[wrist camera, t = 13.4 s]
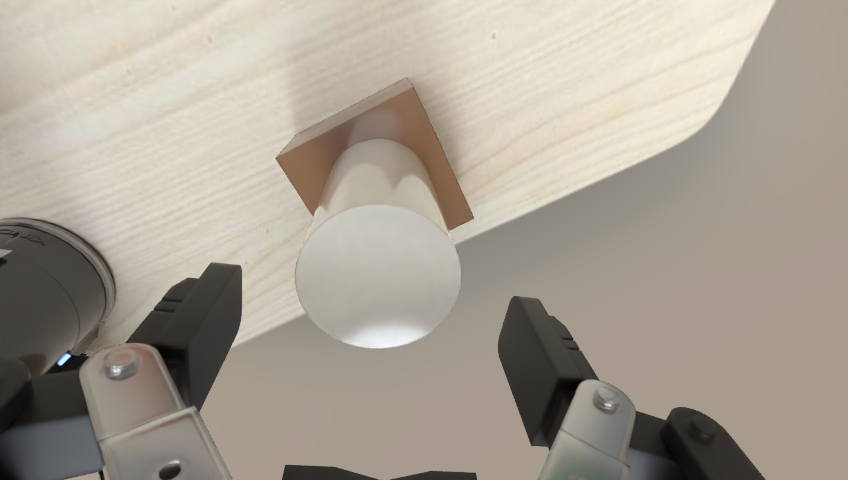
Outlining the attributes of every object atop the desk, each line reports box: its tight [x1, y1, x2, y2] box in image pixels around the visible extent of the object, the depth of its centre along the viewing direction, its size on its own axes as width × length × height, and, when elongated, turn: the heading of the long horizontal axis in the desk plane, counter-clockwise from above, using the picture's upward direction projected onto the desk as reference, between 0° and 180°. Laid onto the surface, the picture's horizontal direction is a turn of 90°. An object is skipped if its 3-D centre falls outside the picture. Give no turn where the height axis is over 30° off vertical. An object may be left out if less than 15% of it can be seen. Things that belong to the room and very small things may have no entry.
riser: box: [276, 78, 474, 230], centre depth 26 cm, size 8×8×6 cm
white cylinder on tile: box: [295, 139, 462, 349], centre depth 19 cm, size 6×6×10 cm
